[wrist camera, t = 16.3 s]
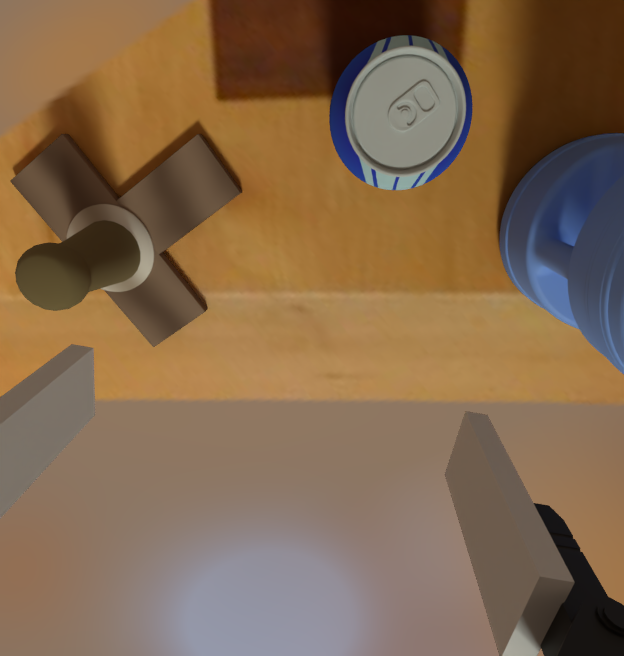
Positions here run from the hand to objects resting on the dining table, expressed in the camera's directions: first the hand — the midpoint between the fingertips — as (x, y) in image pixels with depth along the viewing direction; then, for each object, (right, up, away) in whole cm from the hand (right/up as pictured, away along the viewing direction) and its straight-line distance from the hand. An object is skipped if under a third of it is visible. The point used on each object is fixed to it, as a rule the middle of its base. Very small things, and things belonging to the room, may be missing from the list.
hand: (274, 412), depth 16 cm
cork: (-18, +10, +28) cm, 35 cm away
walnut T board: (-14, +13, +28) cm, 34 cm away
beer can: (+7, +20, +24) cm, 33 cm away
